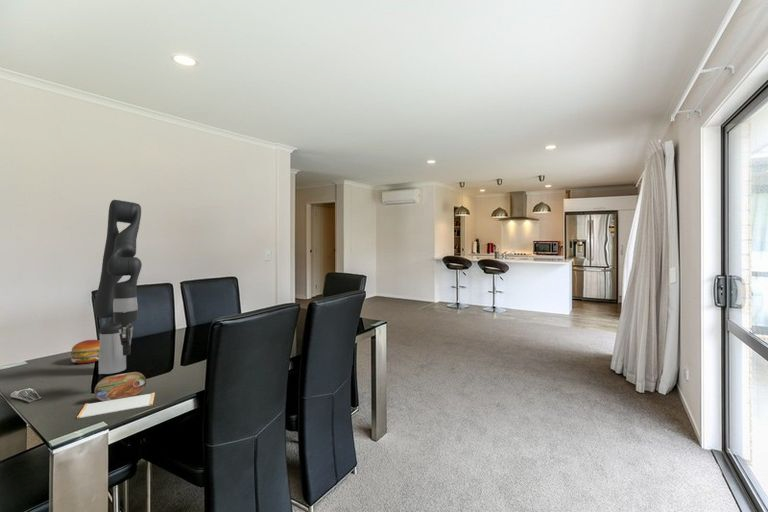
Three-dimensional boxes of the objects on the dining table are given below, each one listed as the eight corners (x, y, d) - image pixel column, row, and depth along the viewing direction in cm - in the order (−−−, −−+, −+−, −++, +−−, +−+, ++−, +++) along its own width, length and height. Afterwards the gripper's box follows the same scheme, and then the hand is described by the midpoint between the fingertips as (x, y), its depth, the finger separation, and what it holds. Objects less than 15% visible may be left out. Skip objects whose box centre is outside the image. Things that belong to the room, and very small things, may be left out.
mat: (76, 418, 111) (76, 417, 111) (85, 405, 121) (85, 403, 121) (152, 405, 121) (152, 403, 121) (154, 393, 131) (154, 392, 131)
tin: (94, 404, 122) (94, 379, 122) (94, 400, 125) (94, 377, 125) (146, 393, 131) (146, 371, 131) (146, 390, 134) (145, 368, 134)
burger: (82, 366, 161) (82, 345, 161) (63, 363, 165) (62, 342, 165) (113, 358, 174) (113, 338, 174) (94, 355, 178) (94, 335, 178)
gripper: (116, 308, 138) (117, 352, 138) (110, 313, 126) (111, 361, 126) (139, 306, 141) (140, 349, 142) (135, 311, 130) (136, 357, 130)
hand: (126, 354), depth 134 cm, fingers closed
